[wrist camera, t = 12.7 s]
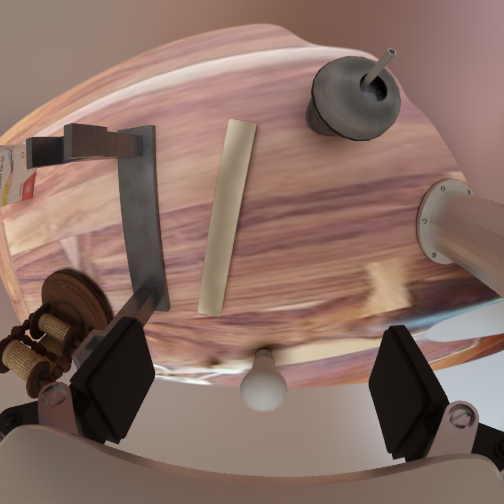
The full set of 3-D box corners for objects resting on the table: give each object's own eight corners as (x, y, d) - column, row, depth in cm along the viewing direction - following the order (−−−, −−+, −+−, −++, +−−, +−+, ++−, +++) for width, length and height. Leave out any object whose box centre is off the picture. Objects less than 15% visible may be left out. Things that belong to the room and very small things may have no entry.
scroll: (51, 321, 41) (-8, 384, 22) (49, 254, 36) (-35, 310, 17) (113, 354, 42) (63, 436, 23) (118, 287, 37) (41, 373, 18)
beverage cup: (317, 157, 30) (394, 159, 12) (281, 107, 29) (311, 37, 10) (363, 128, 29) (473, 107, 10) (330, 79, 27) (405, 3, 8)
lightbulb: (284, 336, 39) (290, 390, 28) (282, 366, 41) (287, 419, 30) (242, 336, 39) (237, 391, 29) (244, 366, 41) (239, 420, 31)
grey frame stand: (156, 125, 30) (72, 106, 14) (171, 308, 38) (126, 393, 22) (119, 131, 30) (26, 124, 14) (138, 305, 38) (83, 382, 22)
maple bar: (257, 126, 30) (256, 123, 27) (222, 305, 38) (220, 317, 35) (232, 122, 30) (229, 118, 27) (201, 301, 38) (197, 312, 35)
